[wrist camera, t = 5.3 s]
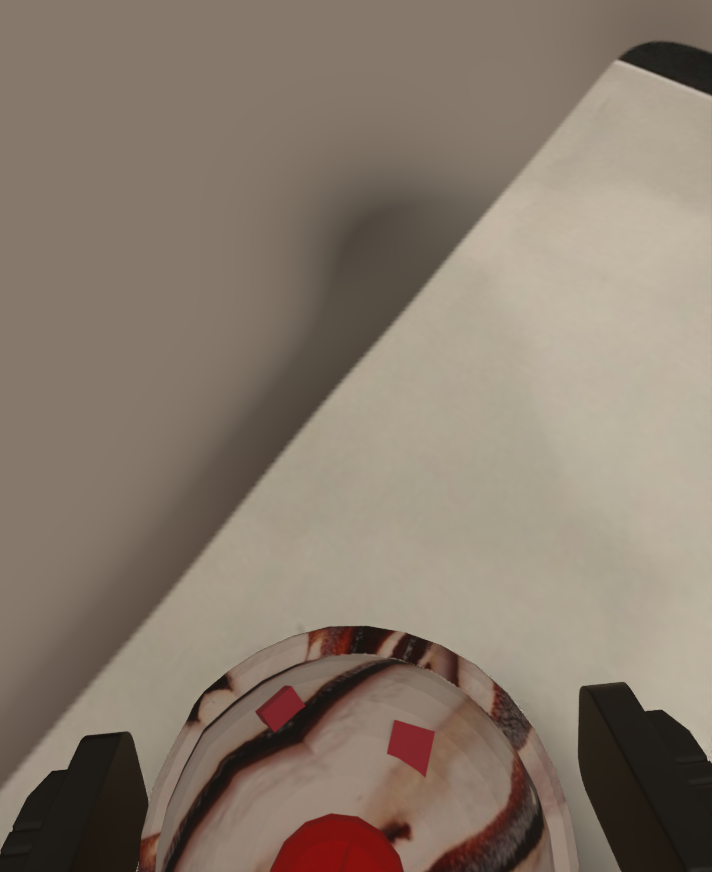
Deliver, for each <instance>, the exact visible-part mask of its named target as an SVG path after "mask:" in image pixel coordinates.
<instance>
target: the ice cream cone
mask: <svg viewBox="0 0 712 872" xmlns="http://www.w3.org/2000/svg"><path fill="white" fill-rule="evenodd" d="M138 872H579V863H578V857H577V851H576V845H575V839H574V833H573V827H572V821H571V816H570V813H569V810H568V807H567V803H566V800H565V797H564V794H563V791H562V788H561V785H560V782H559V779H558V776H557V773H556V770H555V768H554V766H553V764H552V762H551V760H550V758H549V756H548V754H547V752H546V751H545V749H544V747H543V745H542V743H541V741H540V739H539V737H538V735H537V733H536V731H535V729H534V728H533V727H532V725H531V724H530V723H529V721H528V720H527V719H526V717H525V716H524V715H523V713H522V712H521V711H520V709H519V708H518V707H517V705H516V704H515V703H514V701H513V700H512V699H511V697H510V696H509V695H508V693H506V692H505V691H504V690H503V689H502V688H501V687H500V686H499V685H498V684H496V683H495V682H494V681H493V680H492V679H491V678H490V677H489V676H488V675H486V674H485V673H484V672H483V671H482V670H481V669H480V668H479V667H478V666H476V665H475V664H473V663H471V662H470V661H468V660H466V659H464V658H463V657H461V656H459V655H457V654H456V653H454V652H452V651H450V650H449V649H447V648H445V647H443V646H442V645H439V644H436V643H433V642H430V641H428V640H425V639H422V638H419V637H416V636H413V635H410V634H408V633H405V632H399V631H393V630H388V629H382V628H376V627H370V626H337V627H326V628H322V629H318V630H314V631H310V632H306V633H303V634H299V635H295V636H292V637H289V638H287V639H285V640H283V641H281V642H278V643H276V644H274V645H272V646H269V647H267V648H265V649H263V650H261V651H259V652H257V653H255V654H254V655H252V656H251V657H249V658H248V659H246V660H245V661H243V662H241V663H240V664H238V665H237V666H235V667H234V668H232V669H231V670H229V671H228V672H227V673H226V674H224V675H223V676H222V677H221V678H220V679H218V680H217V681H216V682H215V683H214V684H212V685H211V686H210V687H209V688H208V689H207V690H205V691H204V692H203V694H202V695H201V696H200V698H199V699H198V700H197V702H196V703H195V704H194V706H193V708H192V711H191V713H190V715H189V717H188V719H187V721H186V723H185V725H184V726H183V728H182V730H181V732H180V734H179V735H178V737H177V739H176V741H175V742H174V744H173V746H172V748H171V750H170V752H169V754H168V756H167V759H166V761H165V763H164V765H163V767H162V770H161V772H160V774H159V776H158V778H157V781H156V783H155V785H154V787H153V790H152V794H151V798H150V802H149V807H148V811H147V815H146V819H145V823H144V827H143V831H142V835H141V845H140V857H139V868H138Z"/></svg>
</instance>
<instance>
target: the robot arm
mask: <svg viewBox="0 0 712 872" xmlns="http://www.w3.org/2000/svg"><path fill="white" fill-rule="evenodd" d="M578 760H579V767H580V772H581V777H582V781H583V784H584V787H585V790H586V793H587V795H588V797H589V800H590V802H591V804H592V806H593V809H594V811H595V813H596V815H597V818H598V820H599V822H600V824H601V827H602V829H603V831H604V834H605V836H606V838H607V840H608V843H609V845H610V847H611V849H612V852H613V854H614V856H615V858H616V861H617V863H618V865H619V867H620V870H621V872H712V763H711V762H710V761H708V760H707V756H706V754H705V753H704V751H703V750H702V749H701V747H700V746H699V744H698V743H697V741H696V740H695V738H694V737H693V736H692V734H691V733H690V731H689V730H688V729H687V728H685V727H684V726H683V725H681V724H680V723H679V722H677V721H676V720H675V719H673V718H672V717H671V716H670V715H668V714H667V713H666V712H664V711H663V710H654V711H644V709H643V708H642V706H641V705H640V703H639V701H638V700H637V698H636V697H635V695H634V693H633V692H632V690H631V689H630V687H629V686H628V685H627V684H626V683H625V682H617V683H607V684H598V685H588V686H582V687H581V689H580V692H579V726H578ZM148 807H149V806H148V797H147V793H146V789H145V785H144V780H143V776H142V772H141V768H140V764H139V760H138V756H137V752H136V748H135V744H134V740H133V737H132V735H131V734H130V733H129V732H127V731H126V732H117V733H107V734H97V735H87V736H85V737H83V738H82V740H81V741H80V743H79V745H78V747H77V749H76V751H75V754H74V756H73V758H72V760H71V762H70V764H69V767H68V769H67V770H57V771H52V772H51V773H50V774H49V775H48V776H47V777H46V778H45V779H44V780H43V781H42V782H41V783H40V784H39V785H38V786H37V787H36V789H35V790H34V791H33V792H32V793H31V794H30V795H29V796H28V797H27V799H26V801H25V803H24V805H23V807H22V809H21V811H20V813H19V815H18V817H17V819H16V821H15V823H14V825H13V830H12V832H10V833H9V834H8V836H7V838H6V840H5V842H4V844H3V846H2V848H1V850H0V851H1V854H0V872H136V870H137V866H138V863H139V857H140V845H141V835H142V831H143V827H144V823H145V819H146V815H147V811H148Z"/></svg>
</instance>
